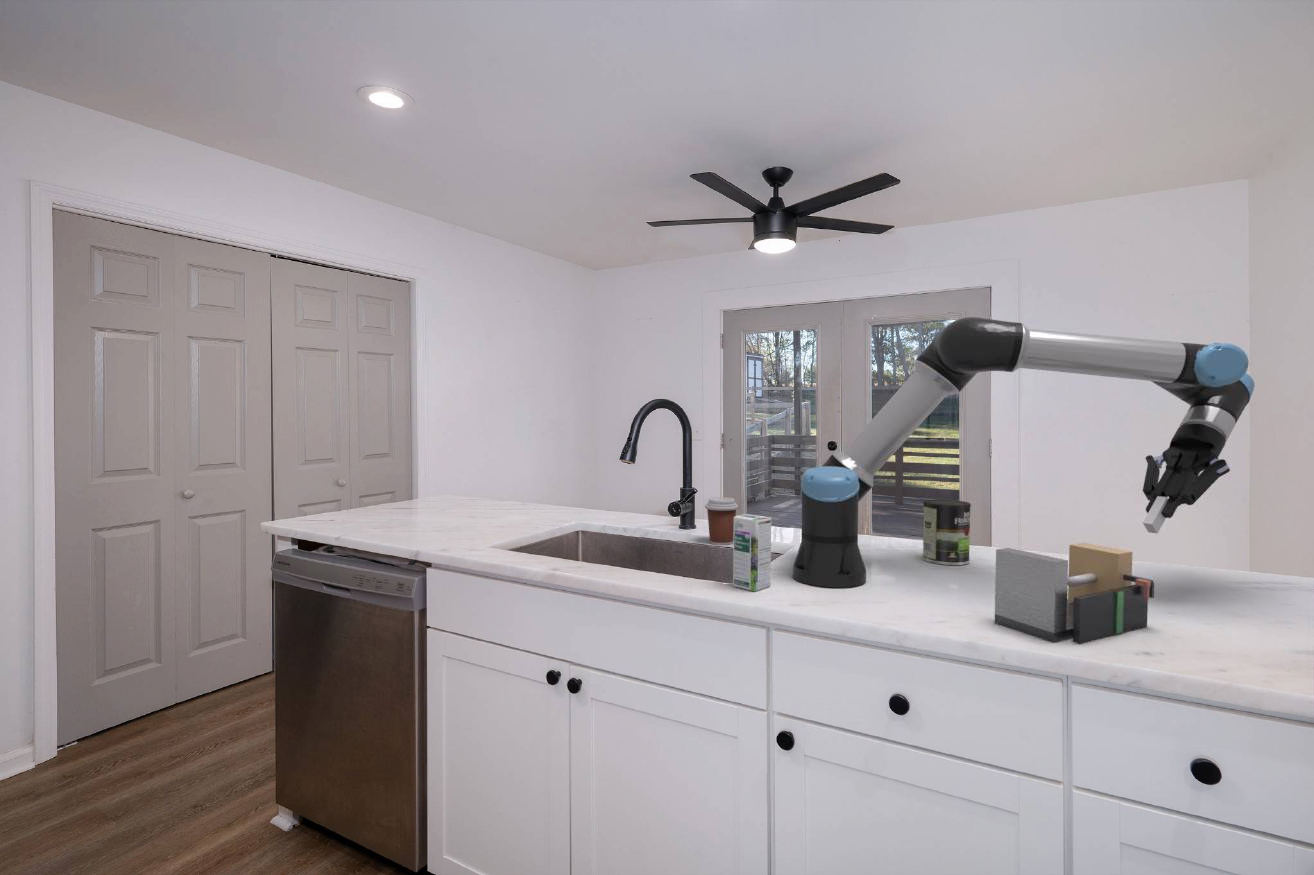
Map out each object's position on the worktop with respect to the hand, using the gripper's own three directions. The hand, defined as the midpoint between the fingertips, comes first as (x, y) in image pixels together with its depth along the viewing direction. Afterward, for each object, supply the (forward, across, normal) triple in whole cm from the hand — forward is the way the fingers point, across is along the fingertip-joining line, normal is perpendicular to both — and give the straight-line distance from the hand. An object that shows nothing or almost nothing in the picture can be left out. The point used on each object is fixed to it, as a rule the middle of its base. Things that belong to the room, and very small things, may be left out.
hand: (1150, 528), depth 114 cm
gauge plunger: (+21, -2, +3) cm, 21 cm away
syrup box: (+52, +42, +32) cm, 73 cm away
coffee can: (+13, +40, -7) cm, 43 cm away
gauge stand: (+26, -1, +6) cm, 27 cm away
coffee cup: (+40, +81, +20) cm, 92 cm away
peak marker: (+17, -7, +5) cm, 19 cm away
